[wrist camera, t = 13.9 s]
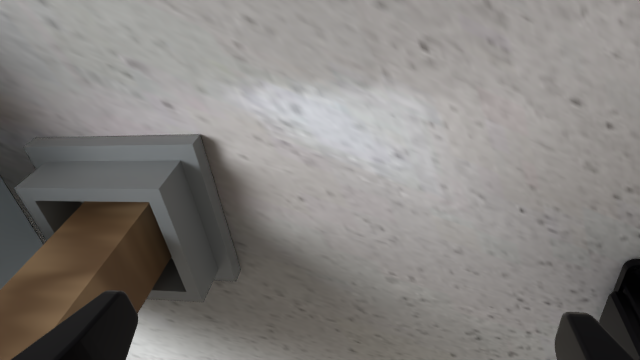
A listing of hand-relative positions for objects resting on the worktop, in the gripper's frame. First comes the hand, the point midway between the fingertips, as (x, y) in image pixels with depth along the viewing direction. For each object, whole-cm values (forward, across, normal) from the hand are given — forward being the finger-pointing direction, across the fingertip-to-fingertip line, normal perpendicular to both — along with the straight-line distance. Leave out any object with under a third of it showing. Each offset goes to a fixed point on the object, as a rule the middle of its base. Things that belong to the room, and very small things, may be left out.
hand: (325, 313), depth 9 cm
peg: (+12, +14, +8) cm, 20 cm away
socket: (+13, +14, +8) cm, 21 cm away
